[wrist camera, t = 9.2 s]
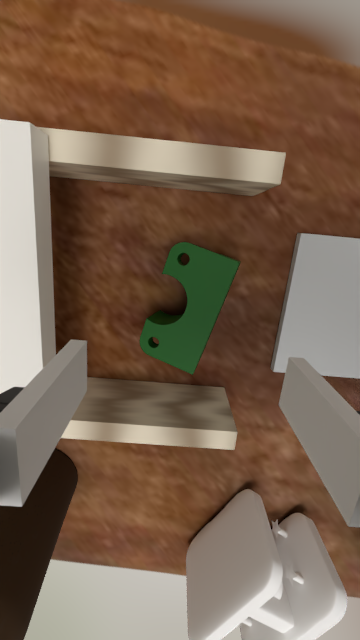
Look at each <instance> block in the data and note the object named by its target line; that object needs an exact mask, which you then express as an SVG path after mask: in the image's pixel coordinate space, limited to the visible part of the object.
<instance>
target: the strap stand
mask: <svg viewBox="0 0 360 640" xmlns="http://www.w3.org/2000/svg"><path fill="white" fill-rule="evenodd" d="M37 128H38V129H40V130H41V131H43V132H44V133H45V134H47V135H48V153H49V176H53V177H63V178H74V179H84V180H94V181H104V182H114V183H124V184H135V185H145V186H155V187H165V188H175V189H185V190H196V191H206V192H216V193H226V194H236V195H246V196H255V195H257V194H259V193H261V192H264V191H266V190H268V189H271V188H273V187H275V186H278V185H280V184H281V178H282V173H283V167H284V161H285V155H286V153H283V152H273V151H264V150H254V149H245V148H235V147H225V146H216V145H206V144H196V143H187V142H177V141H167V140H158V139H148V138H138V137H129V136H119V135H110V134H100V133H90V132H81V131H71V130H61V129H52V128H42V127H37ZM236 437H237V429H236V426H235V422H234V419H233V415H232V412H231V409H230V405H229V402H228V398H227V395H226V392H225V388H224V387H212V386H199V385H186V384H172V383H159V382H146V381H133V380H120V379H107V378H94V377H87V392H86V393H85V395H84V397H83V399H82V401H81V402H80V404H79V406H78V408H77V410H76V411H75V413H74V415H73V417H72V418H71V420H70V422H69V424H68V426H67V427H66V429H65V431H64V433H63V435H62V436H61V438H69V439H83V440H98V441H112V442H127V443H141V444H156V445H170V446H185V447H199V448H214V449H229V450H234V449H235V443H236Z"/></svg>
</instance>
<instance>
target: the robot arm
mask: <svg viewBox="0 0 360 640" xmlns="http://www.w3.org/2000/svg"><path fill="white" fill-rule="evenodd" d="M86 392H87V341H84V340H70V341H69V342H68V343H67V344H66V345H65V346H64V347H63V348H62V349H61V350H60V351H59V352H58V354H57V355H56V356H55V357H54V358H53V359H52V360H51V361H50V362H49V363H48V364H47V365H46V366H45V367H44V368H43V369H42V370H41V371H40V372H39V373H38V374H37V375H36V376H35V377H34V378H33V379H32V380H31V382H30V383H29V384H28V385H27V386H26V387H12V388H11V389H9V390H7V391H5V392H3V393H1V394H0V505H1V506H17V507H22V506H23V504H24V502H25V501H26V499H27V497H28V495H29V493H30V492H31V490H32V488H33V486H34V485H35V483H36V481H37V479H38V477H39V476H40V474H41V472H42V470H43V468H44V467H45V465H46V463H47V461H48V460H49V458H50V456H51V454H52V452H53V451H54V449H55V447H56V445H57V443H58V442H59V440H60V438H61V436H62V435H63V433H64V431H65V429H66V427H67V426H68V424H69V422H70V420H71V418H72V417H73V415H74V413H75V411H76V410H77V408H78V406H79V404H80V402H81V401H82V399H83V397H84V395H85V393H86ZM279 407H280V408H281V410H282V412H283V413H284V415H285V417H286V419H287V420H288V422H289V424H290V426H291V427H292V429H293V431H294V433H295V434H296V436H297V438H298V440H299V441H300V443H301V445H302V447H303V448H304V450H305V452H306V454H307V455H308V457H309V459H310V461H311V462H312V464H313V466H314V467H315V469H316V471H317V473H318V474H319V476H320V478H321V480H322V481H323V483H324V485H325V487H326V488H327V490H328V492H329V494H330V495H331V497H332V499H333V501H334V502H335V504H336V506H337V508H338V509H339V511H340V513H341V515H342V516H343V518H344V520H345V522H346V523H347V525H348V527H360V411H355V410H354V409H353V408H352V407H351V406H350V405H349V404H348V403H347V402H346V401H345V400H344V398H343V397H342V396H341V395H340V394H339V393H338V392H337V391H336V390H335V389H334V388H333V387H332V386H331V385H330V384H329V383H328V382H327V381H326V380H325V379H324V378H323V377H322V376H321V375H320V374H319V373H318V372H317V371H316V370H315V369H314V368H313V367H312V366H311V365H310V364H309V363H308V362H307V361H306V360H305V359H304V358H296V357H289V359H288V364H287V368H286V373H285V378H284V382H283V387H282V391H281V396H280V401H279Z"/></svg>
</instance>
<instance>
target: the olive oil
mask: <svg viewBox="0 0 360 640" xmlns="http://www.w3.org/2000/svg"><path fill="white" fill-rule="evenodd" d="M76 485H77V471H76V468H75V466H74V464H73V463H72V462H71V460H70V459H69V458H68V457H67V456H66V455H64V454H63V453H62V452H60V451H58V450H56V449H54V451H53V452H52V454H51V456H50V458H49V460H48V461H47V463H46V465H45V467H44V468H43V470H42V472H41V474H40V476H39V477H38V479H37V481H36V483H35V485H34V486H33V488H32V490H31V492H30V493H29V495H28V497H27V499H26V501H25V502H24V504H23V506H22V507H17V506H1V505H0V640H23V639H24V637H25V634H26V632H27V629H28V626H29V623H30V620H31V617H32V614H33V611H34V607H35V605H36V602H37V599H38V596H39V592H40V589H41V586H42V583H43V580H44V577H45V574H46V571H47V568H48V565H49V562H50V559H51V557H52V554H53V551H54V548H55V545H56V542H57V539H58V536H59V533H60V530H61V527H62V524H63V521H64V518H65V516H66V513H67V510H68V507H69V505H70V502H71V499H72V496H73V493H74V491H75V488H76Z"/></svg>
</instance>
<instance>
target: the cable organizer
mask: <svg viewBox="0 0 360 640" xmlns="http://www.w3.org/2000/svg"><path fill="white" fill-rule="evenodd" d="M271 521H272V520H271ZM272 526H273V527H272V530H271V527H270V524H269V521H268V517H267V514H266V511H265V508H264V505H263V501H262V498H261V496H260V495H259V494H257V493H255V492H254V491H252V490H250V489H245V490H243V491H241V492H240V493H238V494H237V495H236V496H235V497H234V498H233V499H232V500H231V501H230V502H229V503H228V504H227V505H226V506H225V508H224V509H223V510H222V511H221V512H220V513H219V514H218V515H217V516H216V517H215V518H214V519H213V520H212V521H211V522H209V523H208V524H207V525H206V526H205V527H204V528H203V529H202V530H201V531H200V532H199V533H198V534H197V536H196V537H195V538H194V539H193V540H192V542H191V544H190V546H189V548H188V551H187V555H186V575H187V613H188V636H189V640H221V639H222V638H223V637H225V636H226V635H227V634H229V633H230V632H231V631H232V630H233V629H235V628H236V627H237V626H238V625H240V631H241V638H242V640H315V639H317V638H318V637H319V636H321V635H322V634H324V633H325V632H326V631H328V630H329V629H330V628H332V627H333V626H334V625H336V624H337V623H338V622H339V621H340V620H341V619H342V618H343V616H344V614H345V612H346V608H347V594H346V591H345V588H344V586H343V584H342V582H341V580H340V578H339V575H338V573H337V571H336V569H335V567H334V565H333V563H332V560H331V558H330V556H329V554H328V552H327V550H326V547H325V545H324V543H323V541H322V539H321V537H320V535H319V532H318V530H317V528H316V526H315V524H314V522H313V521H312V520H311V519H310V518H308V517H306V516H305V515H303V514H301V513H294V514H291V515H290V516H289V517H287V518H285V519H284V520H283V521H282V522H281V523H280V524H279V525H278V519H277V520H276V522H273V521H272Z"/></svg>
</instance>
